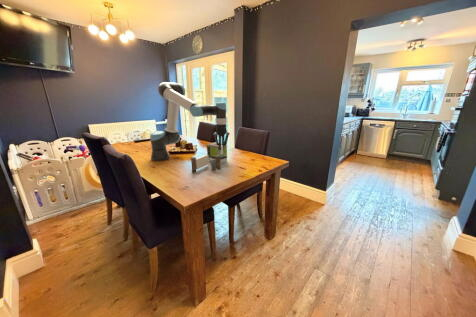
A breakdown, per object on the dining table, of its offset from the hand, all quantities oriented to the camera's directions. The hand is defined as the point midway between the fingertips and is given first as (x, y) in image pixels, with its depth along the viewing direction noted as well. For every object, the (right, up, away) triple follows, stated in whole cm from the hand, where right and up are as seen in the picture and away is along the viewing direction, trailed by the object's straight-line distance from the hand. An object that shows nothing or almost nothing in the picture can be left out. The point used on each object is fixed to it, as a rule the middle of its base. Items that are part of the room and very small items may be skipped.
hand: (221, 153), depth 151 cm
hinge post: (-19, -13, -14) cm, 27 cm away
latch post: (-2, -11, -7) cm, 13 cm away
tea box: (-5, -6, +11) cm, 14 cm away
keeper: (-5, -12, -10) cm, 17 cm away
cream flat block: (-14, -10, -6) cm, 18 cm away
